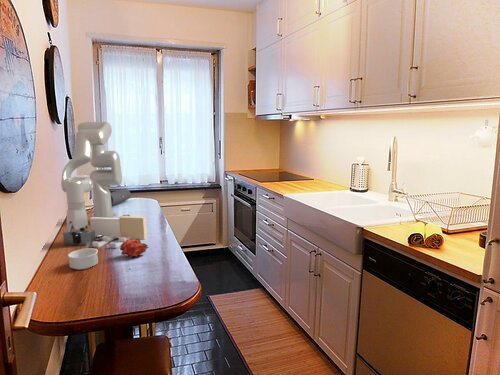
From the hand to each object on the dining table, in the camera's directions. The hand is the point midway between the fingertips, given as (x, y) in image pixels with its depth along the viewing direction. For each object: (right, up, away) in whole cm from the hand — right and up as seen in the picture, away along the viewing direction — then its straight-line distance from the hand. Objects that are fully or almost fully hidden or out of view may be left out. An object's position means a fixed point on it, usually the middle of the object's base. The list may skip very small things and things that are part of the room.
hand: (79, 241), depth 182 cm
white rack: (+15, 0, +2) cm, 15 cm away
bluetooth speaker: (-14, +14, +91) cm, 93 cm away
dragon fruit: (+33, -4, -19) cm, 38 cm away
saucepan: (+14, -5, -25) cm, 29 cm away
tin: (+14, +2, +20) cm, 25 cm away
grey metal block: (0, -1, 0) cm, 1 cm away
